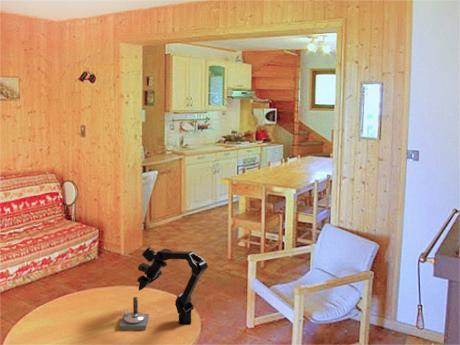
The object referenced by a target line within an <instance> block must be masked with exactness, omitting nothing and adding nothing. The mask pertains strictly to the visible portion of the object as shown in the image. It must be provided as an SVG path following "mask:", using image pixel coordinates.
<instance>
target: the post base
mask: <svg viewBox="0 0 460 345" xmlns="http://www.w3.org/2000/svg"><path fill="white" fill-rule="evenodd" d="M126 314H127V309H125V308H124V309H123V314H122V318H121V320H120V322H119V326H118V327H119V331H121V330H122V331H146V329H147V326H148V322H149V318H150V317H149V316H150V315H149V313H143V314H144V316H145V319H144V321H142V322H140V323H137V324H130V323H126V322H125V321H124V316H125V315H126Z"/></svg>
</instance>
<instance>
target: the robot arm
mask: <svg viewBox="0 0 460 345" xmlns="http://www.w3.org/2000/svg"><path fill="white" fill-rule="evenodd" d="M141 256H142V257H143V258H144V260H146V261H147V262H148V263H145V262H142V263H140V264H139V265H138V267H137V270H138V271H139V272H142V273H144V274H143V275H140V276H138V278H137V279H136V281H137V282H138V283H139V285H138V291H142V290H144V288H146V287H148V286H149V285H150V284H151V283H153V282H154V281H156V280H157V279H159V278H160V277H161V276H162V274H163V273H162V271H161V269H162V268H164V267H167V265H168V264H167V262H166V261H168V260H182V261H183V260H185V261H186V262H187V264H188V266H189V267H190V268H191V270H190V271H191V275H190V278H189V279H188V282H187V284H186V286H185V287H184V290H183V292H181V293H180V294H178V295H177V296H176V300H175V301H174V302H175V303H174V304H175V308H176V312H177V314H178V322H179V323H178V324H179V325H191V324H192V311H193V310H194V308H195V306H194V304H193V303H192V302H191V301H192V294H193V292H194V290H195V288H196V285H197V283H198V282H199V279H200V278H201V276H202V275H203V274H204V273H205V272H206V271H207V270H208V267H209V265H208V263H207V261H206V260H204V259H203V258H202V257H201V256H199V255H198V254H196V253H195V252H193V251H192V250H191V251H183V250H182V251H177V250H171V249H168V248H163V249H161V250H159V251H158V250H157V251H154V250H153V249H152V248H151V246H149V247H147V248H146V249H145V250H144V251H143V252H142V254H141ZM194 261H195V262H194ZM149 263H151V265H150V264H149ZM145 275H146V276H145Z"/></svg>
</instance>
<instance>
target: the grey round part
mask: <svg viewBox="0 0 460 345" xmlns="http://www.w3.org/2000/svg"><path fill="white" fill-rule="evenodd" d="M132 299H133V300H132V307H133V308H132V310H133V311H132V312H128V313H126V315H125V316H124V321H125V322H126V323H130V324H137V323H140V322H142V321H144V319H145V316H144V314H145V313H142V312H139V311H138V310H139V309H138V308H139V307H138V297H137V296H134V297H132Z"/></svg>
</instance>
